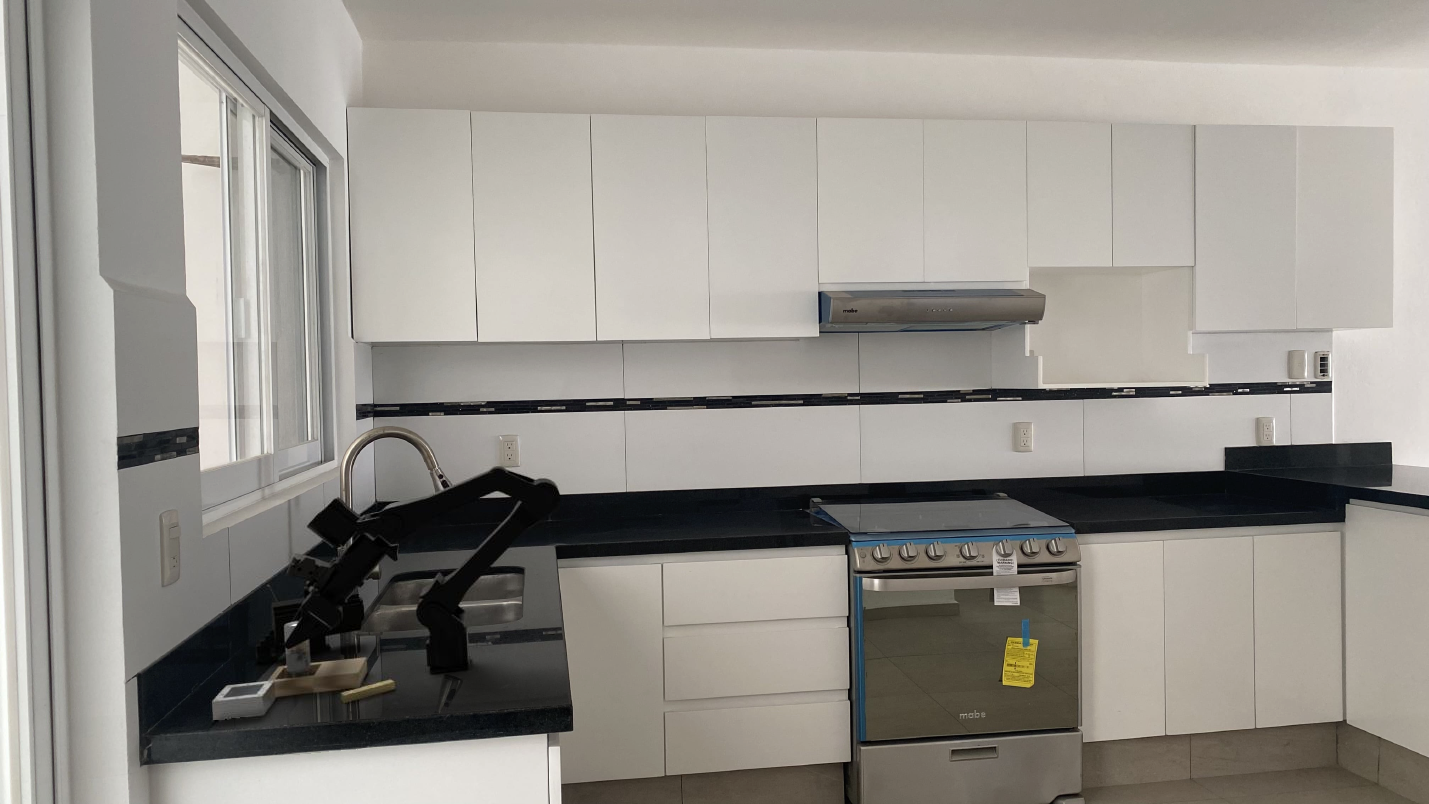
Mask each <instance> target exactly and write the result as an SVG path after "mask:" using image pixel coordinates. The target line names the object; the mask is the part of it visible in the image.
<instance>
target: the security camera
mask: <svg viewBox="0 0 1429 804" xmlns="http://www.w3.org/2000/svg"><path fill="white" fill-rule="evenodd" d="M303 601H304V597H301V598H294V599H289V600H287V599H286V600H281V601H278V602H271V603H270V604H271V605H270V608H271V610H270V611H271V626H272V627H271V628H272V629H269V630H268V634H264V639H260V640H259V642H260V643H259V644H256V645H255V656H256V657H255V658H256V660H257V661H258V660H259V661H260V660H261V663H262V664H265V663H270V662H269V661H272V662H275V661H274V660H276V661H277V655H276V653H272V652H271V651H272V650H271V649H272V648H274V652H278V651H284V650H285V651H286V648H285V647H284V646H283V645H284V643H285V633H284V625H285V624H287V623H291V622H292V620H293V619H294V617H295V615H296V614H297V612H298V610H299V609H300V607H301V603H303ZM365 617H366V616H365V605H364V599H362V597H360V594H359V592H358V591H357V589H356V590H355V591H354V592H353V594H352V595H351V596H350V597H349V598H348V599H347V603H346V604H345V606H344V607H342V620H341V622H340V623H339V624H338V625H337V626H336V627H335V628H332V629H331V630H327V631H325V632H323V633H321V634H319V635H317V636H315V637H312V638H310V639H309V646H310V655H314V653H315V654H320V653H324V652H325V651H326V652H330V651H329V650H332V648H331V645H330V643H327V641H326V640H327V638H326V637H329V636H334V635H341V634H346V633H351V632H357V631H362V624H363V621H365ZM319 652H320V653H319ZM326 652H325V653H326Z"/></svg>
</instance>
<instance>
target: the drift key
mask: <svg viewBox="0 0 1429 804" xmlns="http://www.w3.org/2000/svg"><path fill="white" fill-rule="evenodd" d="M395 687H396V686H395V681H394V680H392V679H388V680H383V681H380V682H376V683H373V684H369V685H365V686H362V687H361V686H360V687H359V688H353V689H349V690H347V691H344V692H340V700H341V702H342V703H345V704H346V703H347V704H348V703H350V702H353V701H354V702H355V701H357V700H358V701H359V700H360V699H363V698H368V697H371V696H375V695H379V694H383V693H386V692H390V691H392V690H395V689H396V688H395Z"/></svg>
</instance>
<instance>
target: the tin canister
mask: <svg viewBox="0 0 1429 804" xmlns="http://www.w3.org/2000/svg"><path fill="white" fill-rule="evenodd" d="M297 623H298V621H296V622H291V623H287V624H285V625H284V633H285V642H286V640H287V638H288V637H289V635H290V634H291V632H292V631H293V629H294V628H295V626H296V625H297ZM285 663H286V664H285V665H286V666H287V678H295V677H304V676H311V663H312V662H311V654H310V646H309V639H308V640H306V641H304V642H302V643H301V644H299V645H297V646H295V647H293V648H291V649H287V648H286V649H285Z"/></svg>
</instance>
